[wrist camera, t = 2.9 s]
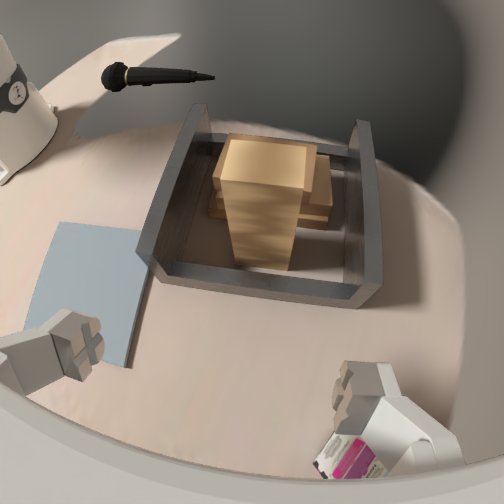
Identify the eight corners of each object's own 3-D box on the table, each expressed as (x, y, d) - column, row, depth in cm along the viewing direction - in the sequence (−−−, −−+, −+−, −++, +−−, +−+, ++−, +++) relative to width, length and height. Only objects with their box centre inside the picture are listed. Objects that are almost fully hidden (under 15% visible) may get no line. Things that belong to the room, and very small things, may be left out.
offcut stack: (210, 218, 33) (201, 183, 27) (223, 168, 35) (217, 131, 30) (325, 231, 31) (336, 198, 26) (326, 179, 34) (335, 143, 29)
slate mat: (26, 331, 27) (23, 330, 26) (62, 223, 33) (59, 221, 32) (125, 367, 26) (123, 367, 25) (160, 235, 32) (158, 233, 31)
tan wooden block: (235, 264, 30) (219, 179, 18) (241, 232, 31) (231, 139, 20) (287, 270, 30) (303, 188, 18) (291, 238, 31) (306, 147, 19)
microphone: (215, 89, 47) (110, 87, 46) (218, 58, 43) (109, 59, 42) (210, 98, 44) (97, 97, 43) (213, 65, 39) (94, 67, 38)
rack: (160, 282, 29) (134, 251, 23) (202, 146, 37) (193, 103, 30) (356, 309, 28) (383, 284, 21) (355, 163, 35) (369, 121, 29)
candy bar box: (308, 465, 22) (366, 548, 7) (339, 419, 23) (434, 448, 8) (402, 502, 19) (505, 560, 4) (428, 460, 21) (549, 486, 6)
